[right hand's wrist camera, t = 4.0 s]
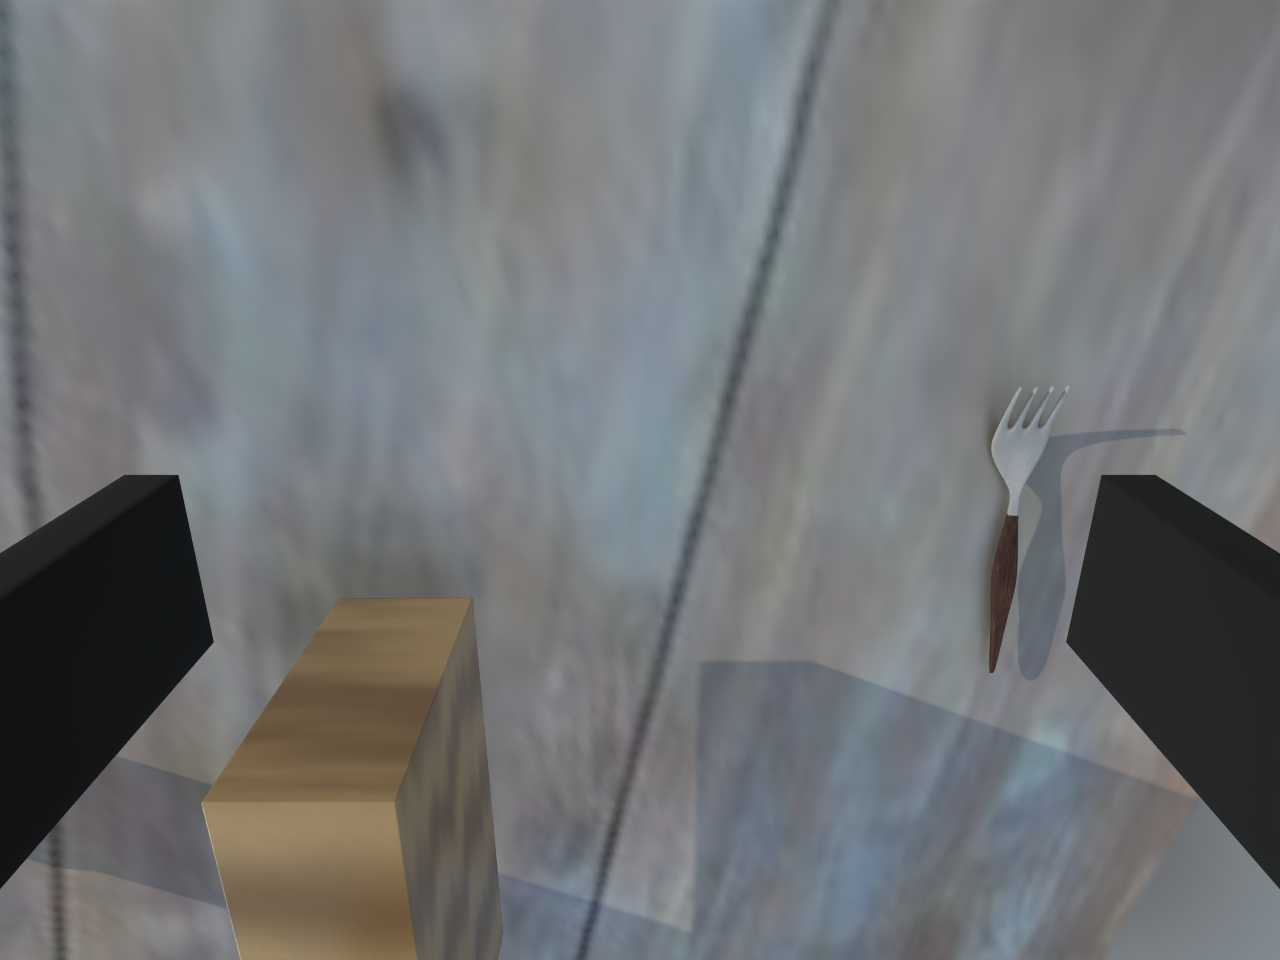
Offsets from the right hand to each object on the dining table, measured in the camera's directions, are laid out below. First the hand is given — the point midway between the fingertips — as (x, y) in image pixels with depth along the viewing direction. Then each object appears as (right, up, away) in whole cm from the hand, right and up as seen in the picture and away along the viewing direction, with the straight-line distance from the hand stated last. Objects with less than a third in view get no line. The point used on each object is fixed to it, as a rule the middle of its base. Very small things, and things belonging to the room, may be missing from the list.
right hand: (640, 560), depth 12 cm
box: (-10, -14, +30) cm, 34 cm away
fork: (+18, -1, +30) cm, 35 cm away
